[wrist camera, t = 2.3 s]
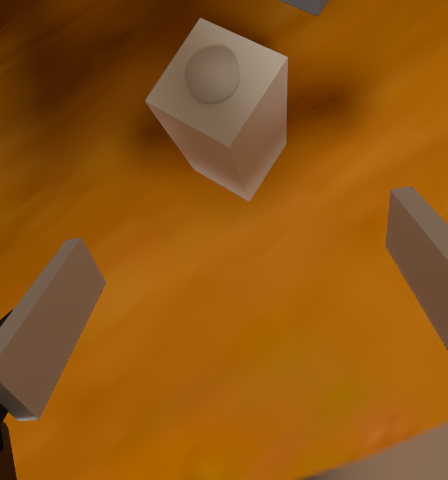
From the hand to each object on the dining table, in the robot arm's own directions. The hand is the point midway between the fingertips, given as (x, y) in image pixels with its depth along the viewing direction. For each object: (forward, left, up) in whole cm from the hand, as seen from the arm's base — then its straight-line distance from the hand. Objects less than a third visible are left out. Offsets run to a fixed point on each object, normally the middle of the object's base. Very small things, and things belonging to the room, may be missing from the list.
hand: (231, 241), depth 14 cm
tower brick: (-7, +7, -14) cm, 17 cm away
